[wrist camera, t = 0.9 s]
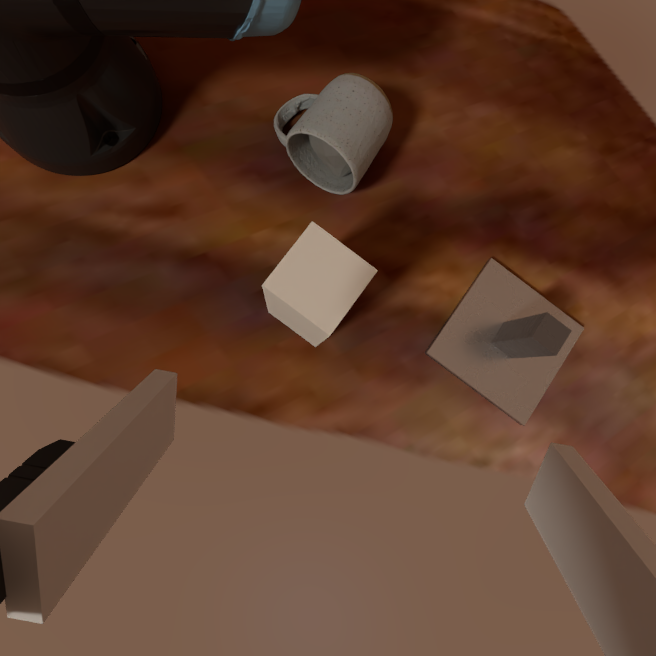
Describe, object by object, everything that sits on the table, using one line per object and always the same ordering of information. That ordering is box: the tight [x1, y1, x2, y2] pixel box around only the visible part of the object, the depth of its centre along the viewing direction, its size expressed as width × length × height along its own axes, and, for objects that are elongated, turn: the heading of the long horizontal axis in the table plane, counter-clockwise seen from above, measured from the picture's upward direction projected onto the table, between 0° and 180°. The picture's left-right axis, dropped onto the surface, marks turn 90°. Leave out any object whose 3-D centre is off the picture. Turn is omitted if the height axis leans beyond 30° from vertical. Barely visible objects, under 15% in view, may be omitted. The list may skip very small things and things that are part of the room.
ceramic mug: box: [274, 73, 393, 195], centre depth 37 cm, size 11×8×8 cm
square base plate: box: [425, 258, 584, 426], centre depth 37 cm, size 12×12×7 cm
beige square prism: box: [262, 221, 378, 347], centre depth 33 cm, size 6×6×12 cm
